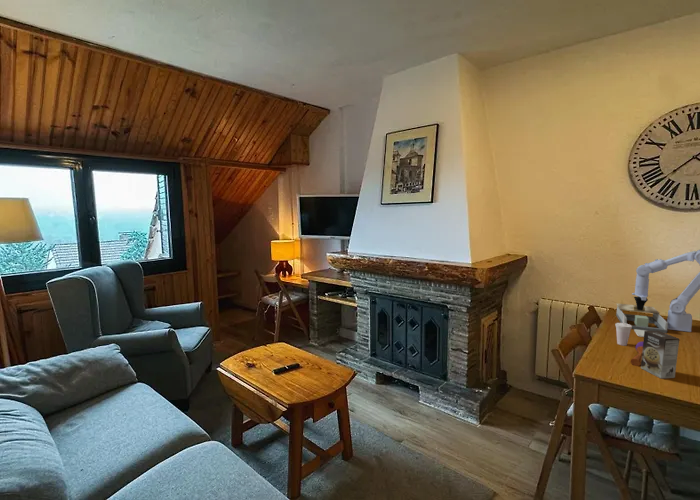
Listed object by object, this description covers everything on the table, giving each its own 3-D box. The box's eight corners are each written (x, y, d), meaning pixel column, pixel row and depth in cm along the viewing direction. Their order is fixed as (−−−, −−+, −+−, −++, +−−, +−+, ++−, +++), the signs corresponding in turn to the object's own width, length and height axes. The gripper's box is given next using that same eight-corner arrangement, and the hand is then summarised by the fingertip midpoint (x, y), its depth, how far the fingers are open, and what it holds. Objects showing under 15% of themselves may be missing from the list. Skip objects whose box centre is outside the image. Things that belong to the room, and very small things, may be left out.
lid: (653, 307, 211) (653, 303, 210) (659, 313, 199) (659, 309, 199) (616, 304, 219) (616, 300, 219) (620, 309, 208) (620, 305, 207)
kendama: (625, 354, 152) (636, 339, 165) (627, 368, 152) (638, 351, 165) (643, 356, 148) (652, 340, 161) (645, 370, 148) (655, 353, 161)
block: (645, 324, 199) (646, 316, 199) (647, 327, 195) (648, 318, 194) (634, 323, 202) (635, 315, 201) (636, 326, 197) (637, 317, 197)
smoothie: (628, 342, 174) (630, 314, 173) (632, 347, 169) (634, 318, 167) (612, 340, 177) (614, 313, 175) (615, 345, 171) (617, 317, 170)
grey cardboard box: (639, 368, 148) (643, 330, 146) (654, 367, 148) (657, 329, 146) (660, 379, 139) (664, 338, 137) (676, 378, 139) (680, 338, 137)
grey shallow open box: (654, 319, 208) (655, 310, 207) (667, 333, 186) (668, 322, 186) (616, 315, 217) (616, 306, 216) (624, 327, 195) (624, 318, 194)
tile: (658, 333, 186) (658, 332, 186) (663, 339, 178) (663, 338, 178) (634, 330, 191) (634, 329, 191) (638, 336, 182) (638, 335, 182)
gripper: (630, 283, 209) (628, 305, 211) (635, 288, 197) (633, 312, 198) (645, 284, 206) (643, 307, 208) (652, 289, 193) (649, 314, 195)
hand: (639, 309), depth 203 cm, fingers closed
